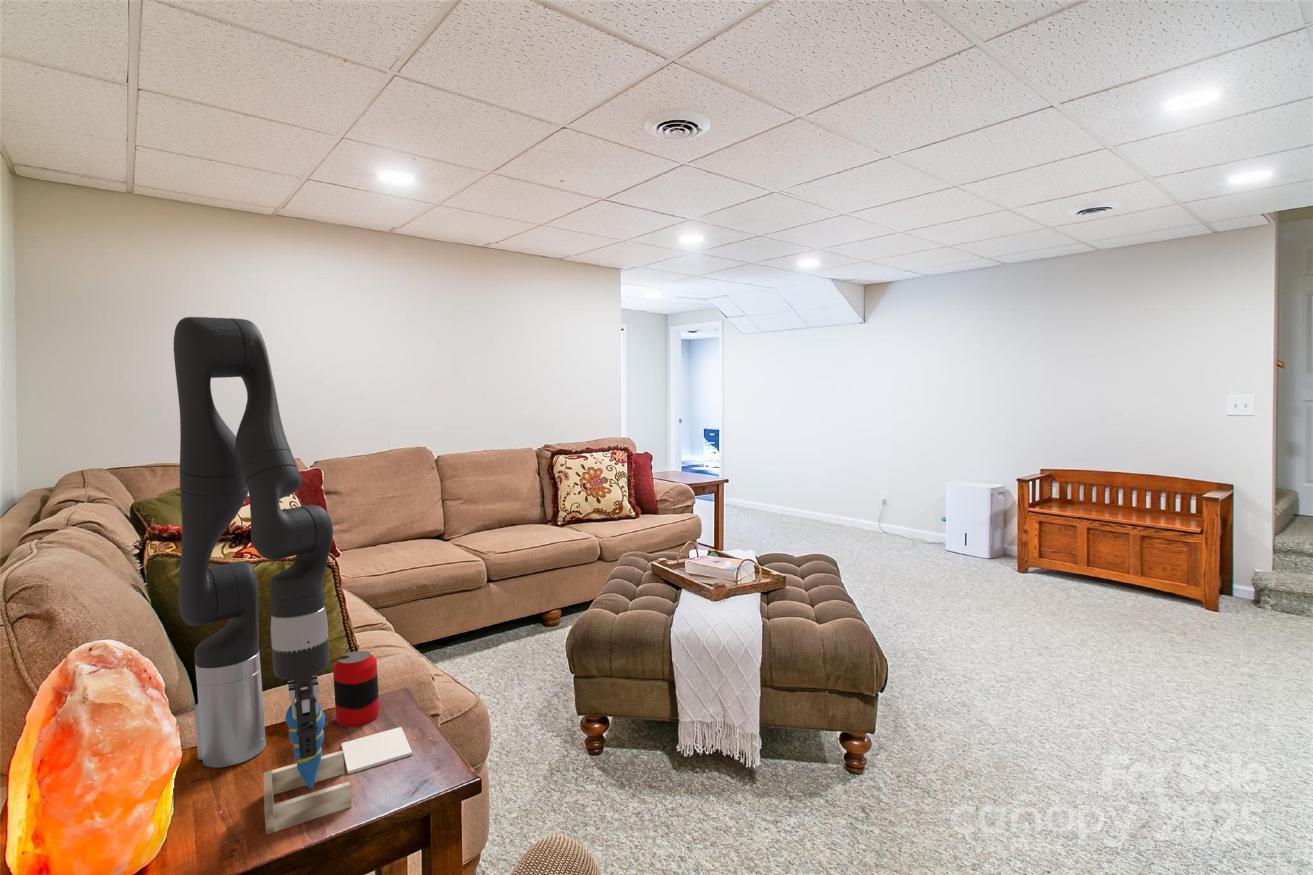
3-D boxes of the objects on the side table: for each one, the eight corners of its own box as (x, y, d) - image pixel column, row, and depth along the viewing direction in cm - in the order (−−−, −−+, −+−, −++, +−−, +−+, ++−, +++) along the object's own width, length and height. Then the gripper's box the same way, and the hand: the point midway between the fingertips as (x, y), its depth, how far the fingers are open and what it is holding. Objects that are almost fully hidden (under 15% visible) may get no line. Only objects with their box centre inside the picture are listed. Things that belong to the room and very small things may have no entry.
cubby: (266, 834, 91) (264, 811, 90) (265, 793, 100) (264, 772, 100) (351, 806, 96) (350, 784, 96) (343, 770, 106) (342, 750, 105)
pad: (348, 774, 105) (347, 771, 105) (341, 745, 113) (341, 743, 113) (412, 754, 110) (412, 752, 110) (401, 729, 118) (401, 726, 118)
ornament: (311, 799, 95) (305, 702, 94) (282, 795, 96) (275, 699, 95) (336, 778, 100) (330, 686, 99) (307, 775, 101) (301, 683, 100)
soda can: (345, 709, 127) (341, 650, 126) (384, 706, 127) (381, 647, 126) (329, 729, 119) (325, 666, 118) (372, 726, 120) (368, 663, 119)
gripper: (332, 649, 92) (339, 762, 94) (324, 619, 104) (330, 720, 106) (271, 661, 88) (279, 779, 90) (271, 629, 101) (278, 733, 102)
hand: (307, 747), depth 98 cm, fingers closed on ornament, 5 cm apart
